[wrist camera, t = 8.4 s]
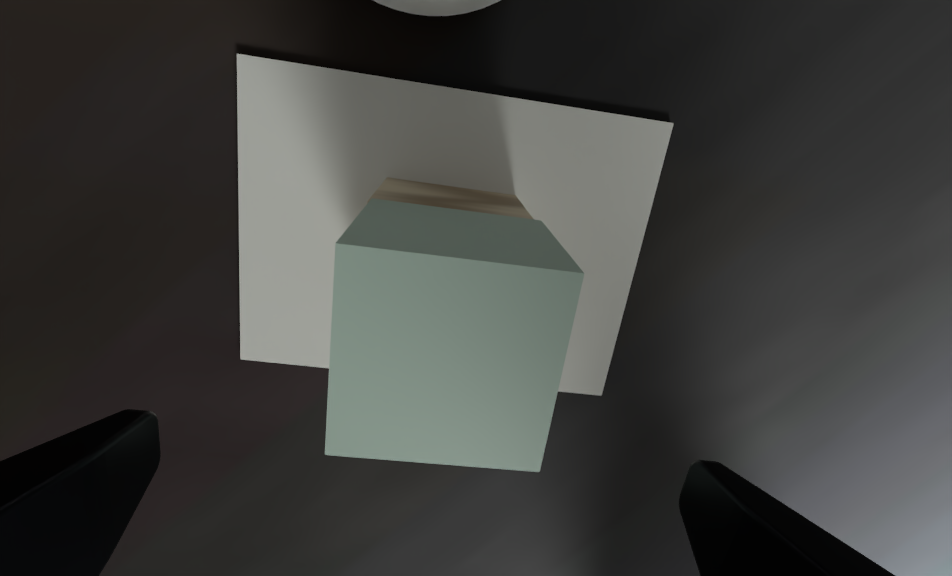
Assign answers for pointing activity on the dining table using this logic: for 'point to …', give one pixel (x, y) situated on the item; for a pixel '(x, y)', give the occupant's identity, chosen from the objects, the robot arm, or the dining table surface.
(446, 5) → the cup
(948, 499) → the dining table surface
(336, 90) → the white flat rectangular panel
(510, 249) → the sage block
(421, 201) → the maple block
